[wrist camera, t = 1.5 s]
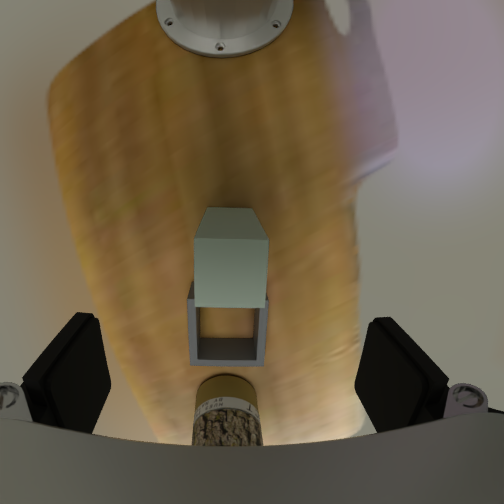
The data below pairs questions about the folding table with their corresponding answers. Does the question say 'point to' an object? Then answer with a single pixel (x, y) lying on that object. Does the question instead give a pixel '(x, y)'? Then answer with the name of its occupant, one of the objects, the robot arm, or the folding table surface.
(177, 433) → the folding table surface
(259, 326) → the socket block
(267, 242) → the peg
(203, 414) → the bark log chew toy
